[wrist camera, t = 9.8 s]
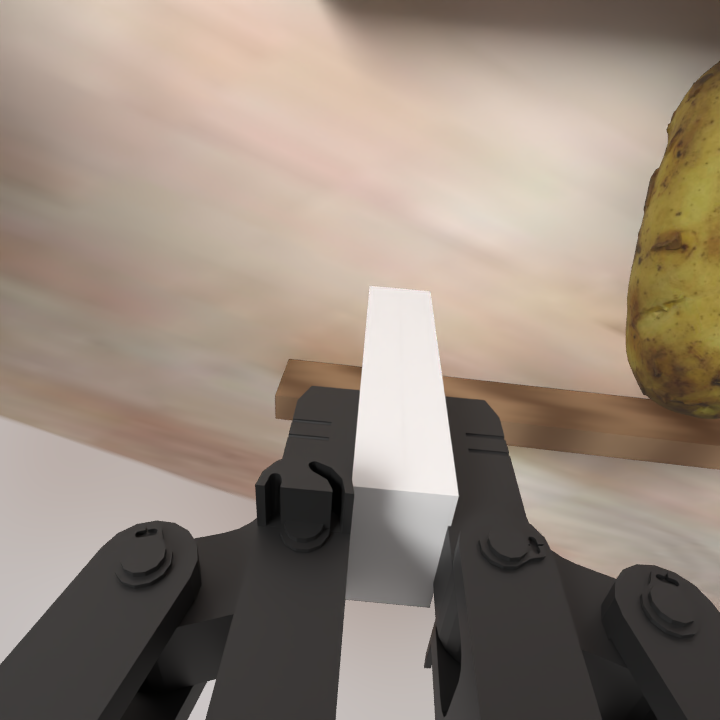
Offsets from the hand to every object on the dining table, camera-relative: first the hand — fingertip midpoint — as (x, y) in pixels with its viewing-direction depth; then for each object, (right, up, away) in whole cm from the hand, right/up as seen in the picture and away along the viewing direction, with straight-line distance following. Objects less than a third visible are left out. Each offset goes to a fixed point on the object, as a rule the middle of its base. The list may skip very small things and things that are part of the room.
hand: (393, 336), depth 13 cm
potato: (+14, +6, +10) cm, 18 cm away
